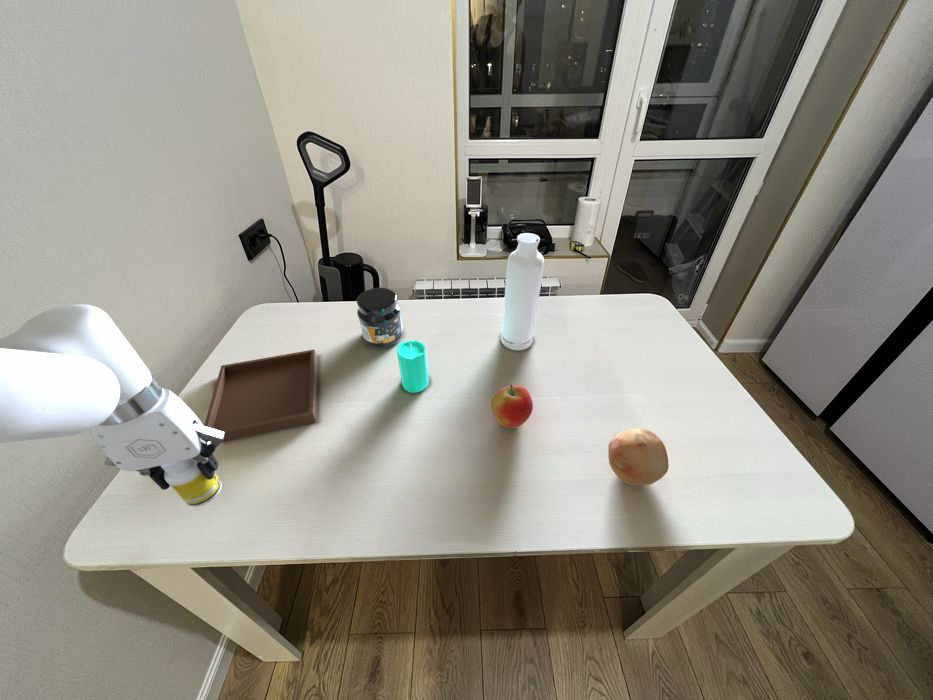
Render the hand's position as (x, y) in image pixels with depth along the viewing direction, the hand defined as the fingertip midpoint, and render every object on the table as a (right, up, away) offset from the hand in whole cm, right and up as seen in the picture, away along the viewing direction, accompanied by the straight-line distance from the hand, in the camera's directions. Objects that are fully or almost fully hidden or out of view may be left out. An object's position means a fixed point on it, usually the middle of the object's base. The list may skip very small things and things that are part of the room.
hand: (190, 475), depth 59 cm
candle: (+32, +12, +27) cm, 43 cm away
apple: (+52, +5, +19) cm, 56 cm away
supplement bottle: (0, -4, +3) cm, 5 cm away
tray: (0, +10, +24) cm, 26 cm away
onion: (+73, -3, +10) cm, 74 cm away
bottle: (+56, +22, +39) cm, 72 cm away
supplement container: (+22, +23, +40) cm, 51 cm away
